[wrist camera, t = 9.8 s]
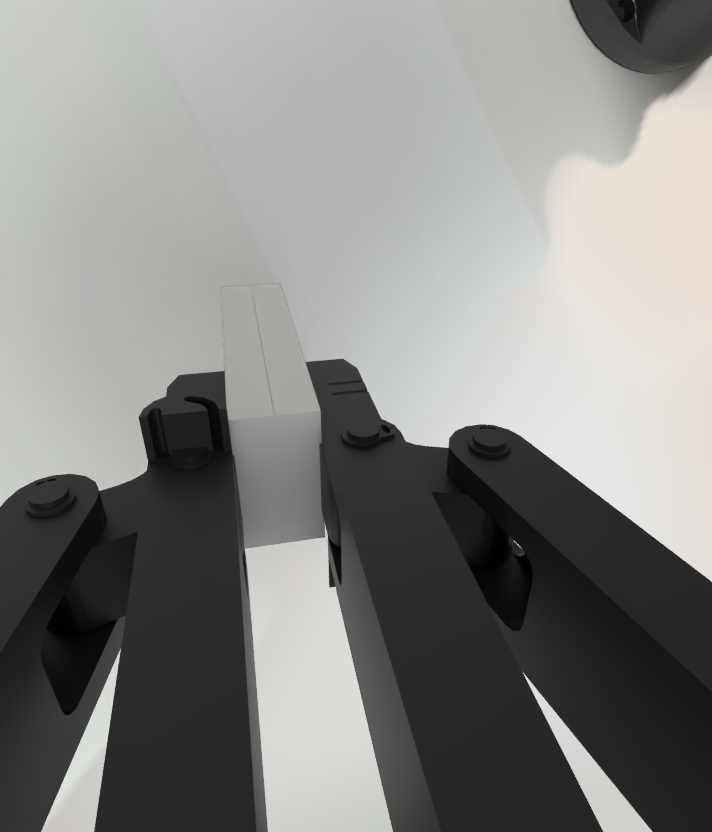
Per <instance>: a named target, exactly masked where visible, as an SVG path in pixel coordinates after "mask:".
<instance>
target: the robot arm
mask: <svg viewBox="0 0 712 832" xmlns="http://www.w3.org/2000/svg"><path fill="white" fill-rule="evenodd" d="M572 3H573V6H574V8H575V11H576V13H577V15H578V17H579V19H580V21H581V23H582V25H583V27H584V28H585V30H586V32H587V33H588V35H589V36H590V37H591V39H592V40H593V41H594V43H595V44H596V45H597V46H598V47H599V48H600V49H601V50H602V51H603V52H604V53H605V54H606V55H607V56H608V57H610V58H611V59H613V60H614V61H615V62H617V63H619V64H620V65H622V66H624V67H626V68H629V69H632V70H634V71H638V72H643V73H665V72H670V71H674V70H677V69H680V68H682V67H685V66H688V65H690V64H693V63H696V62H698V61H701V60H703V59H706V58H708V57H710V56H711V55H712V0H572ZM221 306H222V327H223V347H224V368H225V371H221V372H210V373H199V374H187V375H179V376H178V377H177V378H176V379H175V380H174V381H173V382H172V383H171V384H170V385H169V386H168V388H167V395H166V397H164V398H161V399H159V400H156V401H154V402H153V403H151V404H150V405H148V406H147V407H146V408H144V409H143V411H142V413H141V414H140V416H139V421H140V425H141V430H142V435H143V439H144V444H145V449H146V453H147V458H148V467H147V471H146V472H145V473H144V474H142V475H140V476H139V477H137V478H135V479H133V480H131V481H129V482H126V483H123V484H121V485H118V486H115V487H112V488H108V489H105V490H102V491H99V489H98V487H97V485H96V482H94V481H93V480H91V479H89V478H88V477H86V476H81V475H74V474H65V475H54V476H50V477H46V478H42V479H39V480H36V481H34V482H32V483H30V484H28V485H26V486H24V487H22V488H20V489H19V490H17V491H16V492H15V493H14V494H13V495H12V496H10V497H9V498H8V499H7V500H6V501H5V502H4V503H3V505H2V506H1V507H0V832H41V830H42V828H43V826H44V823H45V821H46V819H47V816H48V814H49V812H50V810H51V807H52V805H53V803H54V800H55V798H56V796H57V793H58V791H59V789H60V786H61V784H62V782H63V780H64V777H65V775H66V773H67V770H68V768H69V766H70V763H71V761H72V759H73V757H74V754H75V752H76V750H77V747H78V745H79V743H80V740H81V738H82V736H83V733H84V731H85V729H86V727H87V724H88V722H89V720H90V717H91V715H92V713H93V710H94V708H95V706H96V704H97V701H98V699H99V697H100V694H101V692H102V690H103V687H104V685H105V683H106V680H107V678H108V676H109V674H110V671H111V669H112V667H113V664H114V662H115V660H116V657H117V655H118V653H119V651H120V648H121V652H120V659H119V666H118V673H117V680H116V687H115V694H114V700H113V707H112V714H111V721H110V728H109V735H108V741H107V748H106V755H105V763H104V769H103V776H102V783H101V790H100V796H99V803H98V810H97V817H96V824H95V831H94V832H268V830H267V817H266V804H265V792H264V778H263V765H262V752H261V740H260V727H259V714H258V702H257V688H256V676H255V663H254V650H253V637H252V624H251V612H250V599H249V586H248V573H247V564H246V556H245V548H251V547H258V546H265V545H272V544H279V543H286V542H293V541H300V540H307V539H314V538H321V537H325V525H326V529H327V533H328V556H329V586H330V587H335V586H336V590H337V595H338V599H339V603H340V608H341V612H342V616H343V620H344V625H345V629H346V633H347V637H348V641H349V645H350V650H351V654H352V658H353V663H354V667H355V671H356V676H357V680H358V684H359V688H360V692H361V697H362V701H363V705H364V710H365V714H366V718H367V722H368V727H369V731H370V735H371V740H372V744H373V748H374V752H375V757H376V761H377V765H378V769H379V774H380V777H381V782H382V786H383V791H384V795H385V799H386V803H387V808H388V812H389V816H390V820H391V825H392V829H393V832H603V831H602V829H601V826H600V825H599V823H598V821H597V819H596V817H595V815H594V813H593V811H592V809H591V807H590V805H589V803H588V801H587V799H586V797H585V795H584V793H583V791H582V789H581V787H580V785H579V783H578V781H577V779H576V777H575V775H574V773H573V771H572V769H571V767H570V765H569V763H568V761H567V759H566V757H565V756H564V753H563V752H562V749H561V748H560V746H559V744H558V742H557V740H556V738H555V736H554V734H553V732H552V730H551V728H550V726H549V724H548V722H547V720H546V718H545V716H544V714H543V712H542V710H541V708H540V706H539V704H538V702H537V700H536V698H535V696H534V694H533V692H532V690H531V688H530V686H529V684H528V682H527V680H526V679H525V676H524V674H525V675H526V676H527V678H528V679H529V680H530V681H531V682H532V684H533V685H534V686H535V687H536V689H537V690H538V691H539V692H540V694H541V695H542V696H543V697H544V698H545V700H546V701H547V702H548V703H549V705H550V706H551V707H552V708H553V709H554V711H555V712H556V713H557V715H558V716H559V717H560V718H561V719H562V721H563V722H564V723H565V724H566V726H567V727H568V728H569V729H570V731H571V732H572V733H573V734H574V735H575V737H576V738H577V739H578V740H579V742H580V743H581V744H582V745H583V747H584V748H585V749H586V750H587V751H588V753H589V754H590V755H591V756H592V758H593V759H594V760H595V761H596V762H597V764H598V765H599V766H600V767H601V769H602V770H603V771H604V772H605V774H606V775H607V776H608V777H609V778H610V780H611V781H612V782H613V783H614V785H615V786H616V787H617V788H618V790H619V791H620V792H621V793H622V794H623V796H624V797H625V798H626V799H627V801H628V802H629V803H630V804H631V806H632V807H633V808H634V809H635V811H636V812H637V813H638V814H639V815H640V817H641V818H642V819H643V820H644V822H645V823H646V824H647V825H648V827H649V828H650V829H651V830H652V831H653V832H712V582H711V581H710V580H709V579H707V578H706V577H705V576H703V575H702V574H701V573H699V572H698V571H697V570H695V569H694V568H693V567H692V566H690V565H689V564H688V563H686V562H685V561H683V560H682V559H681V558H680V557H678V556H677V555H676V554H675V553H673V552H672V551H671V550H669V549H668V548H666V547H665V546H664V545H663V544H661V543H660V542H659V541H657V540H656V539H655V538H654V537H652V536H651V535H650V534H648V533H647V532H646V531H644V530H643V529H642V528H640V527H639V526H638V525H636V524H635V523H634V522H633V521H631V520H630V519H628V518H627V517H626V516H625V515H623V514H622V513H621V512H619V511H618V510H617V509H615V508H614V507H613V506H612V505H610V504H609V503H608V502H606V501H605V500H604V499H602V498H601V497H600V496H598V495H597V494H596V493H594V492H593V491H592V490H590V489H589V488H588V487H586V486H585V485H584V484H583V483H581V482H580V481H579V480H577V479H576V478H575V477H573V476H572V475H571V474H569V473H568V472H567V471H566V470H564V469H563V468H561V467H560V466H559V465H558V464H556V463H555V462H554V461H552V460H551V459H550V458H549V457H547V456H546V455H544V454H543V453H542V452H541V451H539V450H538V449H537V448H535V447H534V446H533V445H532V444H530V443H529V442H527V441H526V440H525V439H523V438H522V437H521V436H519V435H517V434H516V433H514V432H512V431H510V430H508V429H504V428H501V427H497V426H494V425H474V426H467V427H464V428H462V429H459V430H457V431H455V432H454V434H453V435H452V436H451V437H450V439H449V448H441V447H429V446H421V445H415V444H411V443H408V442H406V441H405V439H404V437H403V435H402V434H401V432H400V431H399V430H398V429H397V428H396V426H395V425H393V424H391V423H389V422H387V421H385V420H382V419H381V418H380V415H379V413H378V411H377V409H376V407H375V405H374V403H373V401H372V399H371V397H370V394H369V392H367V388H366V386H365V384H364V382H363V380H362V378H361V376H360V373H359V371H358V369H357V368H356V367H354V366H353V365H351V364H350V363H348V362H347V361H345V360H344V359H336V360H324V361H313V362H305V359H304V356H303V353H302V350H301V347H300V344H299V340H298V337H297V334H296V331H295V328H294V325H293V321H292V318H291V315H290V312H289V309H288V306H287V302H286V299H285V296H284V293H283V290H282V287H281V283H273V284H258V285H242V286H227V287H221ZM324 521H325V525H324ZM514 541H515V542H516V543H517V544H519V546H520V547H521V548H522V549H521V548H520V547H519V546H518V545H517V544H516V543H515V542H514ZM522 671H523V672H522ZM523 673H524V674H523Z"/></svg>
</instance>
